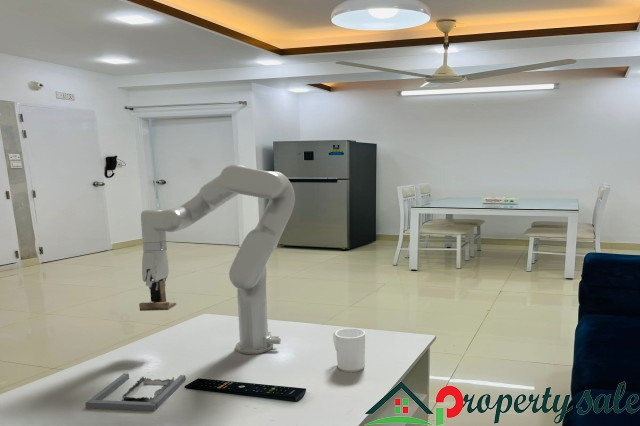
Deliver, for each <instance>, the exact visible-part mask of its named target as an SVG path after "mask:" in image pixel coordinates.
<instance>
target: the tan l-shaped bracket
mask: <svg viewBox="0 0 640 426" xmlns="http://www.w3.org/2000/svg"><path fill="white" fill-rule="evenodd" d="M158 283H159V290H160V300H161V301H160V302H151V301H149V302H140V303H139V304H138V305H139V307H138V308H139V311H140V312H142V311H143V312H145V311H148V312H149V311H169V310H171V309H173V308H174V307H175V306H177V302H170V301H167V296H166V283H165V284H164V280H159V281H158ZM153 284H155V283H153Z"/></svg>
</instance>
